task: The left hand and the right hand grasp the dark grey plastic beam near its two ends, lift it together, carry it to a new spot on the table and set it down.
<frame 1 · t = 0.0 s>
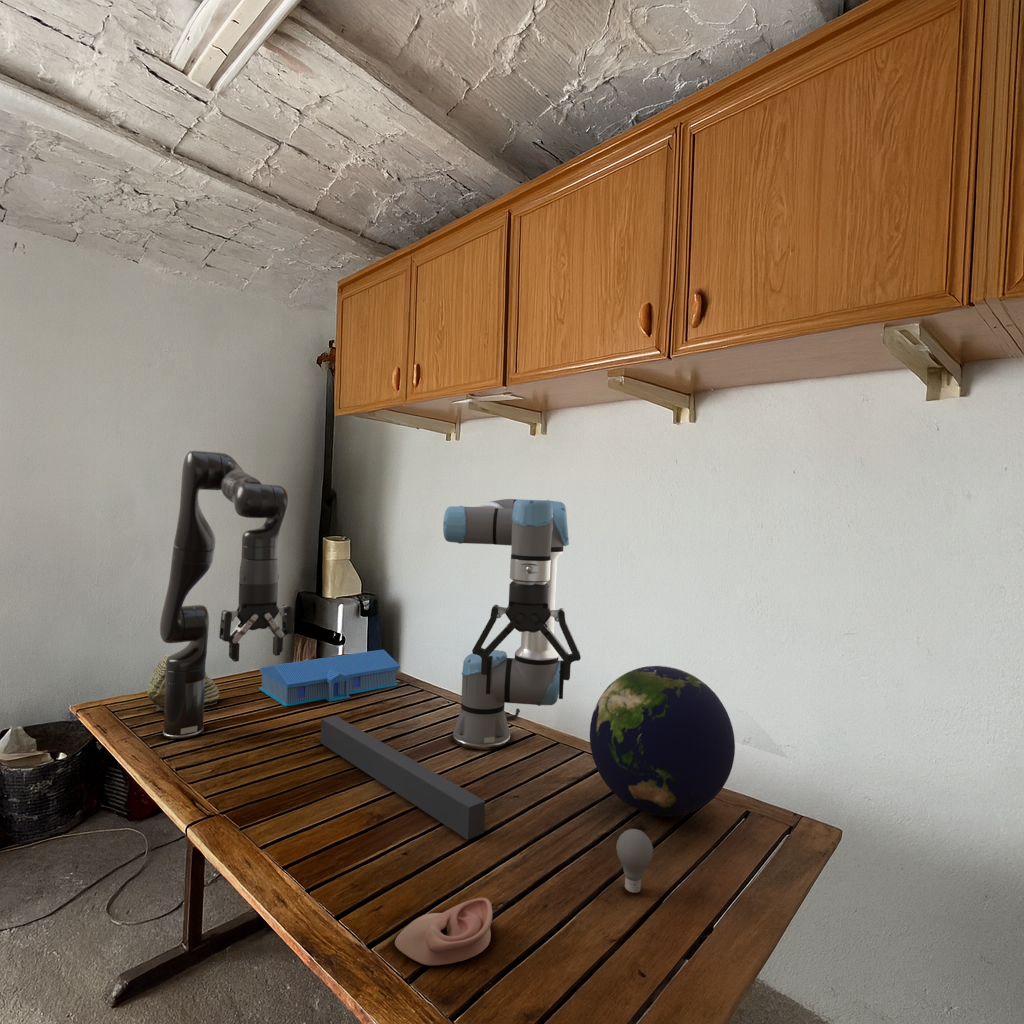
left hand: (256, 657, 132), 29 cm above the table, tool pointing down, fingers open, 8 cm apart
right hand: (524, 694, 119), 28 cm above the table, tool pointing down, fingers open, 13 cm apart
anatomical model: (444, 940, 92), on the table
model building: (332, 688, 208), on the table
fossil: (183, 706, 185), on the table
beam: (390, 781, 142), on the table
light bulb: (632, 891, 106), on the table
globe: (656, 809, 135), on the table
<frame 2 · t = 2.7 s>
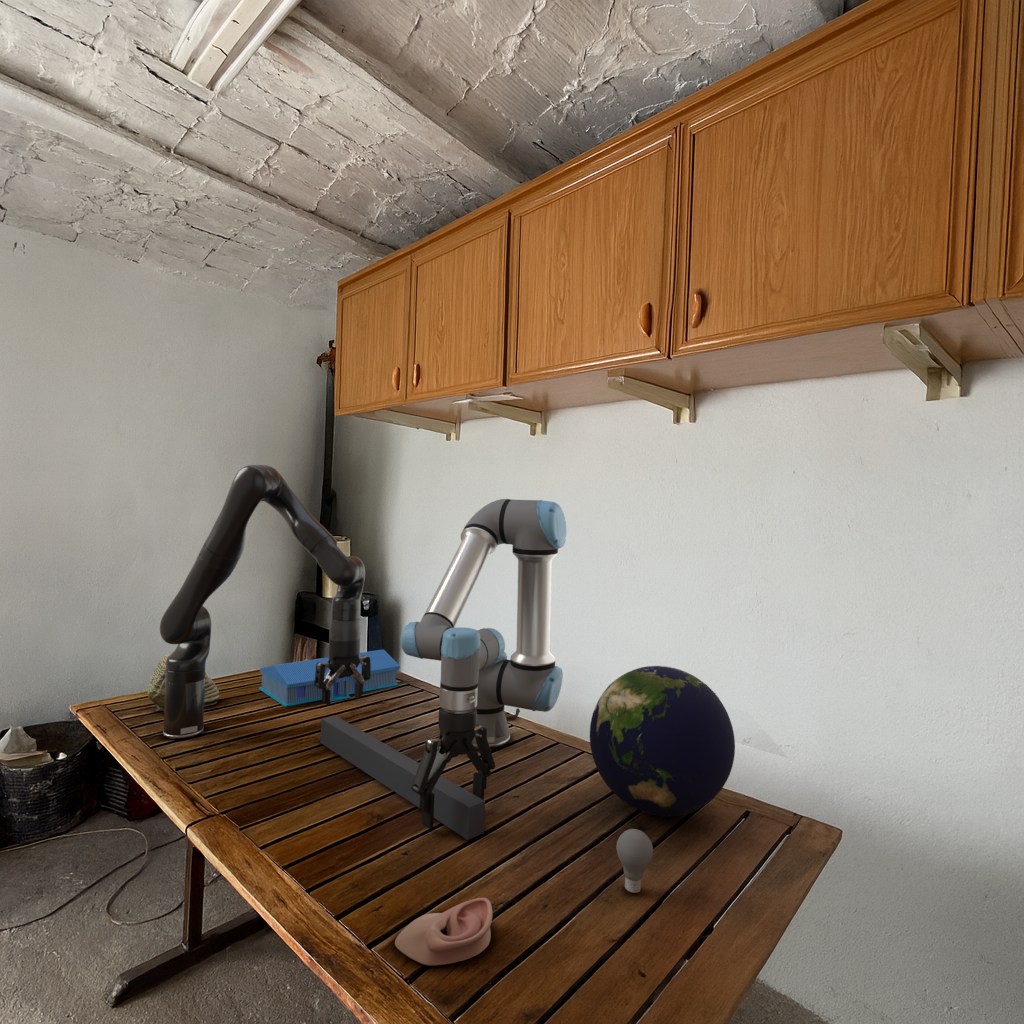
left hand: (342, 700, 159), 12 cm above the table, tool pointing down, fingers open, 8 cm apart
right hand: (453, 815, 126), 1 cm above the table, tool pointing down, fingers open, 12 cm apart
nothing on the table moved.
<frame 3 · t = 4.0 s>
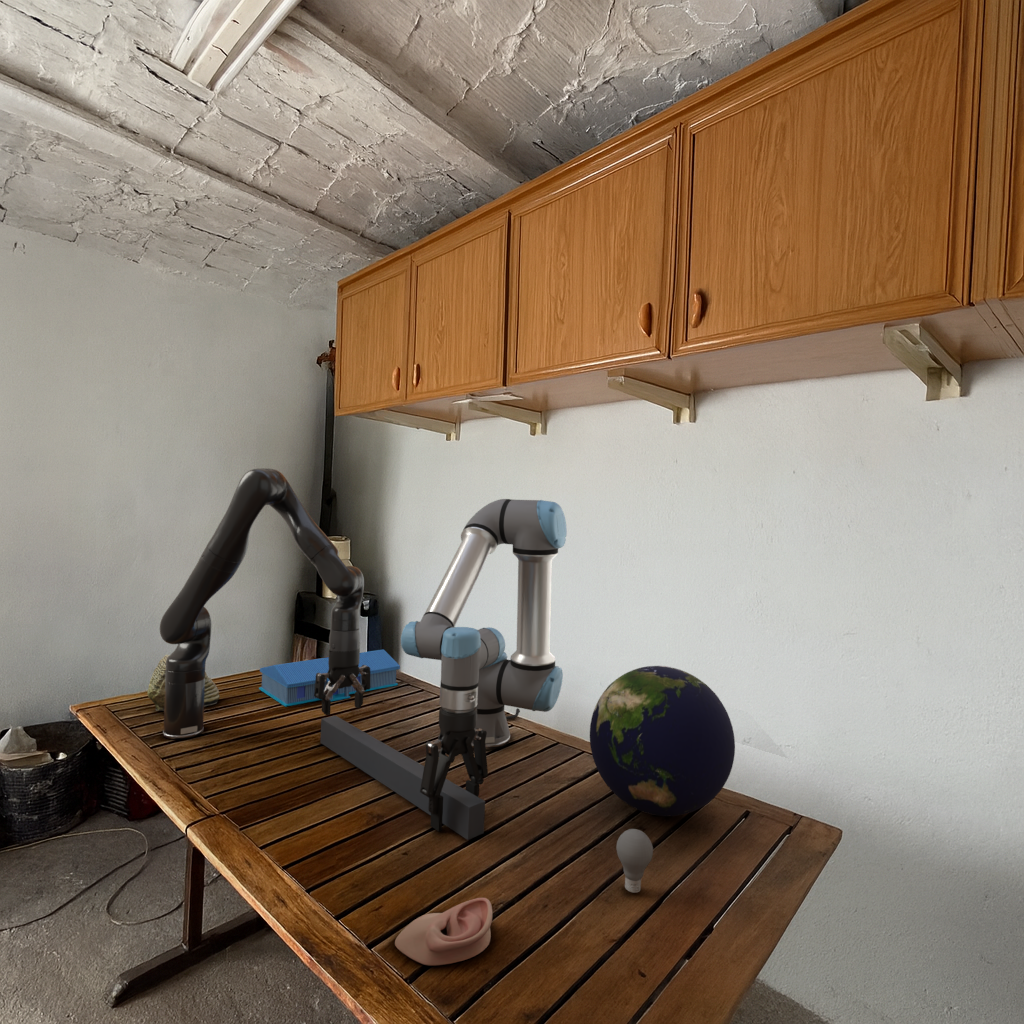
left hand: (342, 710, 159), 10 cm above the table, tool pointing down, fingers open, 8 cm apart
right hand: (453, 820, 126), 0 cm above the table, tool pointing down, fingers open, 8 cm apart
nothing on the table moved.
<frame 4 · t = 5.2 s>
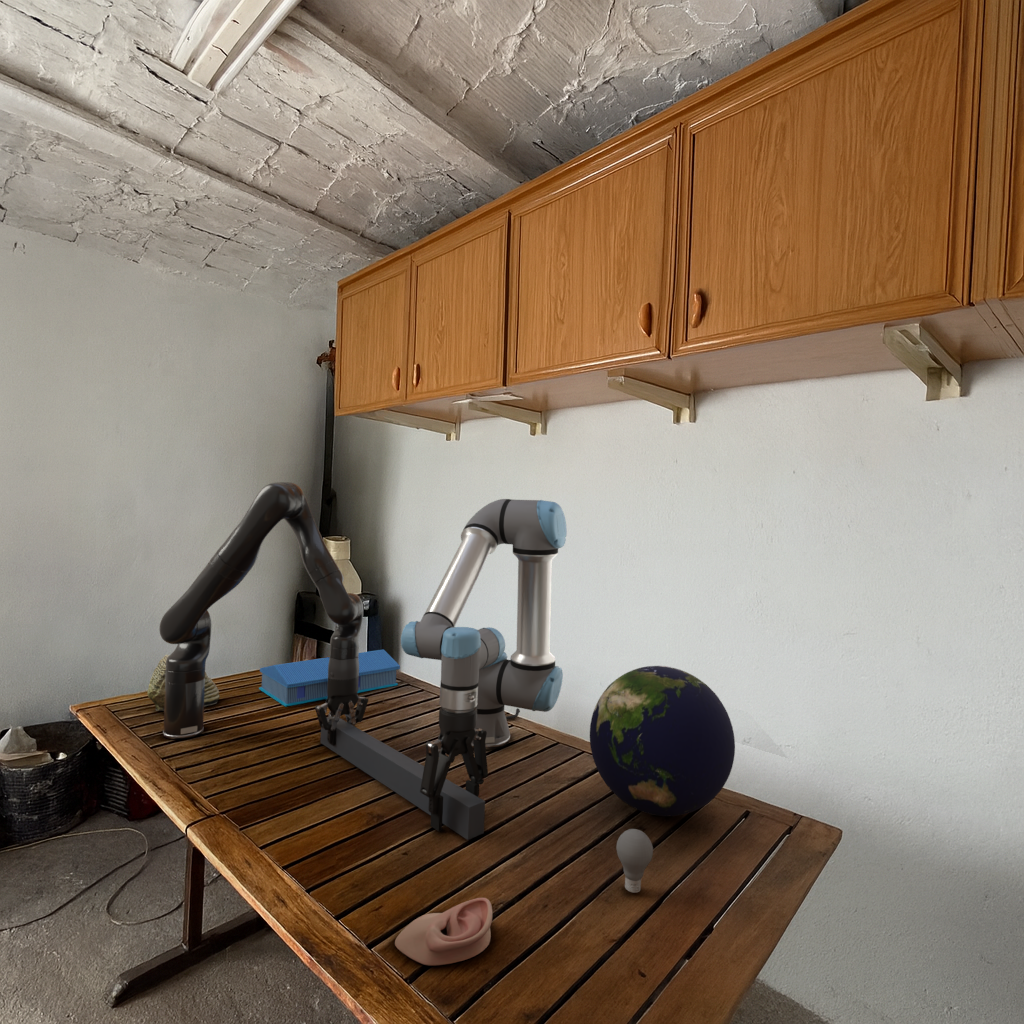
left hand: (340, 741, 159), 2 cm above the table, tool pointing down, fingers closed on beam, 4 cm apart
right hand: (453, 820, 126), 0 cm above the table, tool pointing down, fingers open, 8 cm apart
beam: (390, 781, 142), on the table, touching left hand
everything else where it was.
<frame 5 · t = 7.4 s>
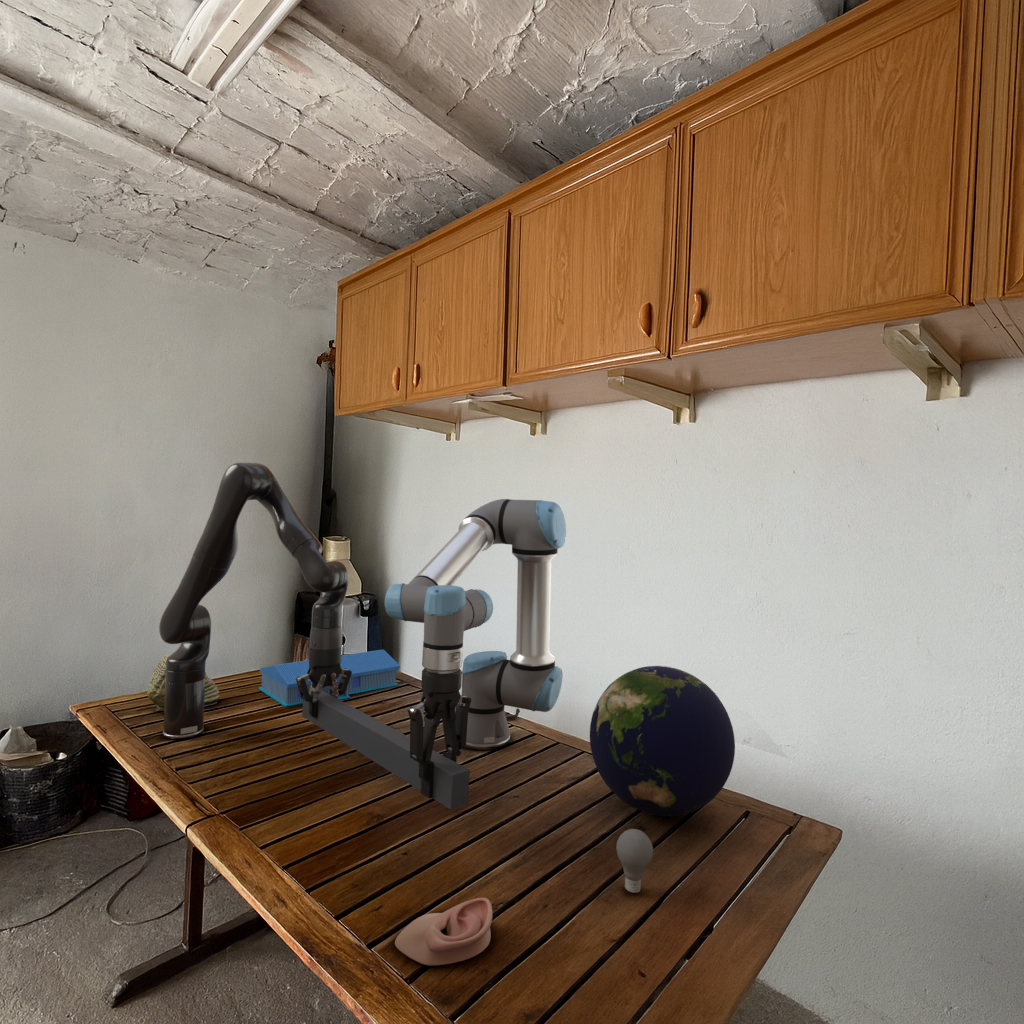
left hand: (322, 714, 153), 11 cm above the table, tool pointing down, fingers closed on beam, 4 cm apart
right hand: (436, 791, 120), 9 cm above the table, tool pointing down, fingers closed on beam, 4 cm apart
beam: (372, 753, 136), point 9 cm above the table, touching left hand, right hand
everything else where it was.
when the right hand's fingers open (1 cm above the table, at t = 9.2 s): beam drops 1 cm, on the table.
when the left hand's fingers open (3 cm above the table, at t = 9.4 s): beam stays where it is, on the table.
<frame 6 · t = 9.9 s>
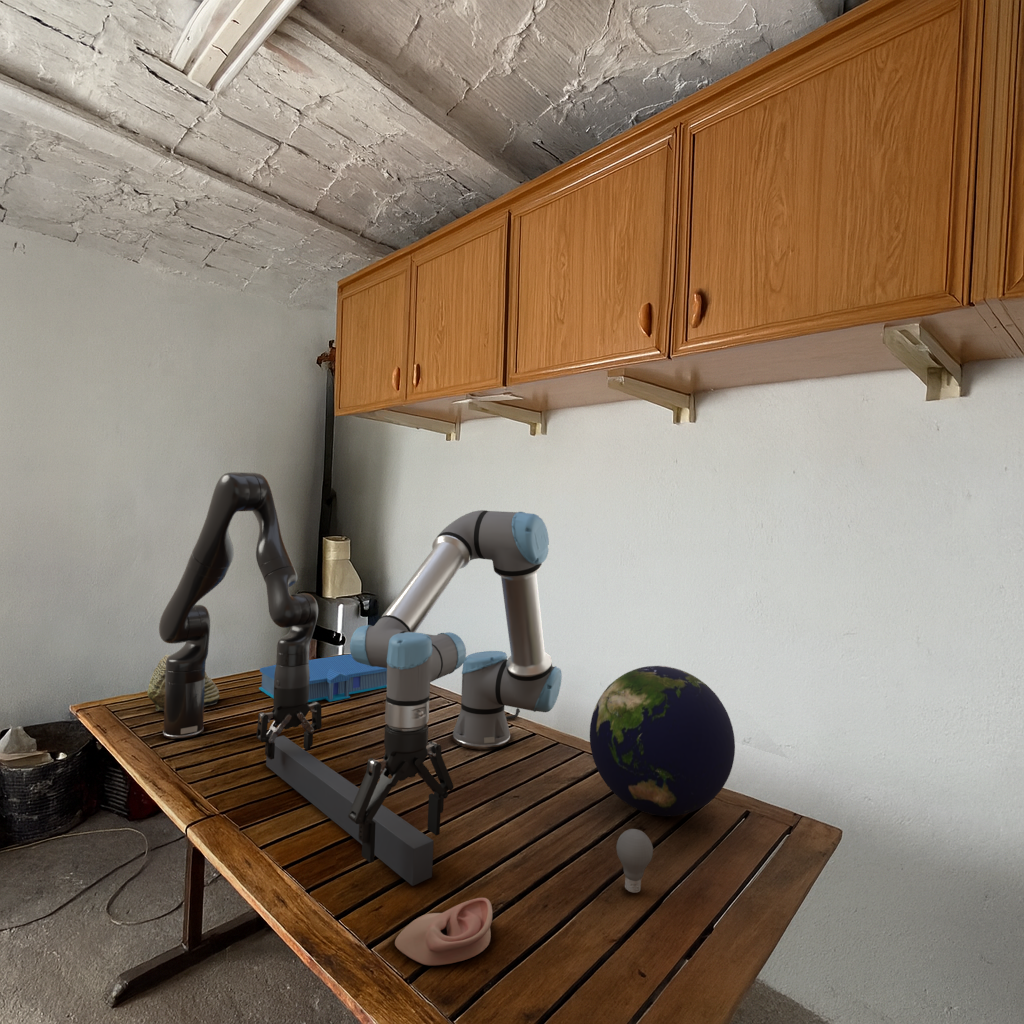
left hand: (289, 753, 144), 5 cm above the table, tool pointing down, fingers open, 8 cm apart
right hand: (402, 844, 110), 3 cm above the table, tool pointing down, fingers open, 13 cm apart
beam: (335, 812, 127), on the table
everything else where it was.
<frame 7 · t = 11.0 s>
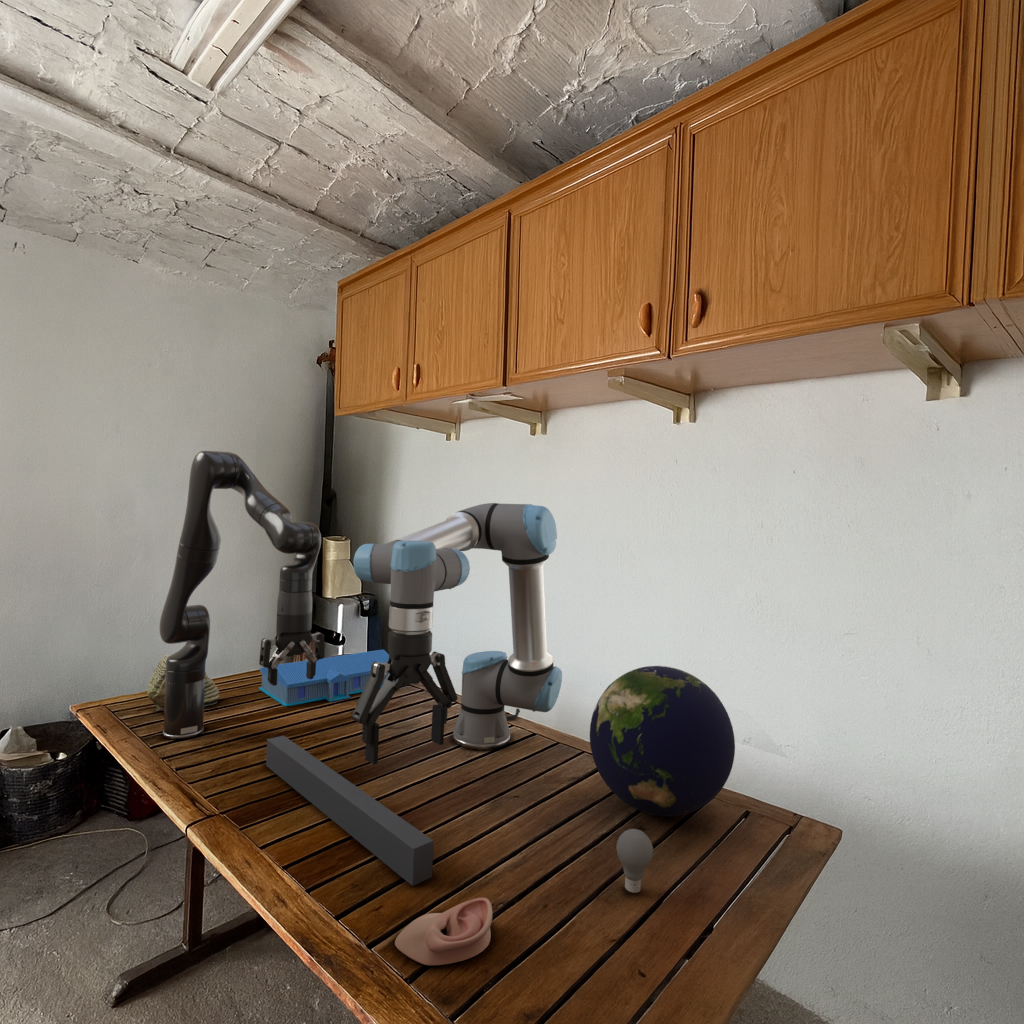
left hand: (291, 681, 143), 21 cm above the table, tool pointing down, fingers open, 8 cm apart
right hand: (405, 751, 110), 20 cm above the table, tool pointing down, fingers open, 13 cm apart
nothing on the table moved.
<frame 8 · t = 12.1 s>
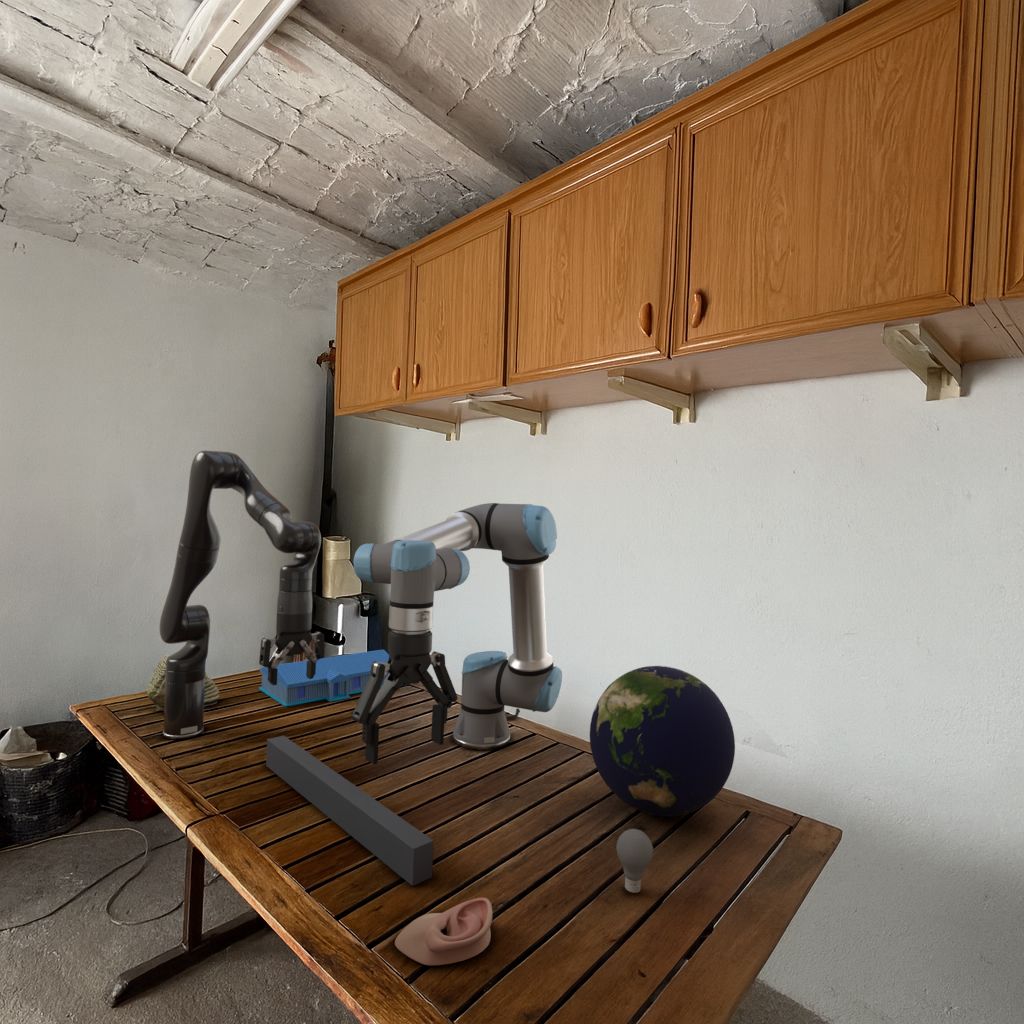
left hand: (291, 681, 143), 21 cm above the table, tool pointing down, fingers open, 8 cm apart
right hand: (405, 751, 110), 20 cm above the table, tool pointing down, fingers open, 13 cm apart
nothing on the table moved.
at the end: beam inside the target area (0.5 cm from its centre), on the table; beam tilted 0°; beam never tilted more than 2° during the clip; both hands held the beam at the same time; the left hand is holding nothing; the right hand is holding nothing; beam at rest at the end (0.0 cm/s) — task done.
